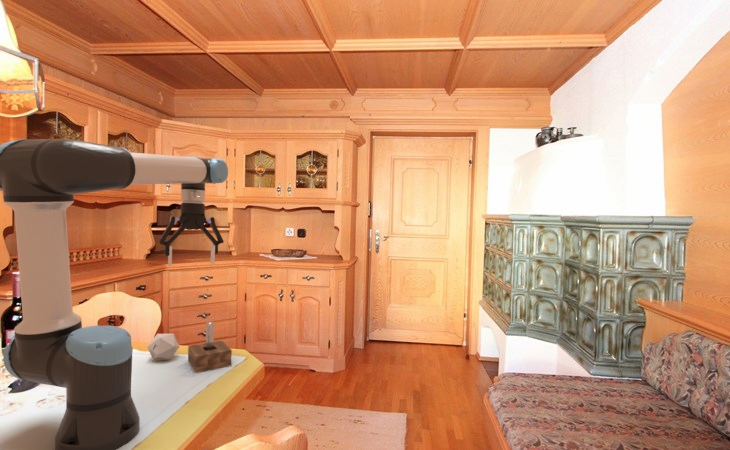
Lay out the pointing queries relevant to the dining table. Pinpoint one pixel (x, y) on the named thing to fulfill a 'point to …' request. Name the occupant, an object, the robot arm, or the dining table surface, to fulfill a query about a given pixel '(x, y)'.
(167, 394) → the dining table surface
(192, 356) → the socket block
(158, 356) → the die
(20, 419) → the dining table surface
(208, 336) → the pin
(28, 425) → the dining table surface
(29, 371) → the robot arm
